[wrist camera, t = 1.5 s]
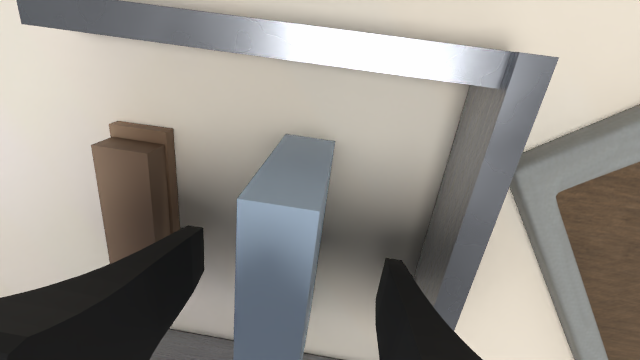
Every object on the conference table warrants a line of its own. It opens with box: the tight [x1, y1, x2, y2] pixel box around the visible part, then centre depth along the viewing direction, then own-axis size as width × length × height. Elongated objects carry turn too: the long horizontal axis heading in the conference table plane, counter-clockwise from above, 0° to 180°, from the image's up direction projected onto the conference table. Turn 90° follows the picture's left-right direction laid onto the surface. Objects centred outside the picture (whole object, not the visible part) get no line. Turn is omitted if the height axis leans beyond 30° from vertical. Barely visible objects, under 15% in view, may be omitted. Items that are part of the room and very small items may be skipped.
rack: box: [17, 0, 559, 360], centre depth 14 cm, size 16×17×3 cm
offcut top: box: [91, 137, 171, 264], centre depth 14 cm, size 2×7×1 cm, turn 173°
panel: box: [233, 134, 335, 360], centre depth 12 cm, size 2×9×6 cm, turn 173°
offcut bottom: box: [109, 121, 180, 234], centre depth 15 cm, size 2×8×1 cm, turn 174°
